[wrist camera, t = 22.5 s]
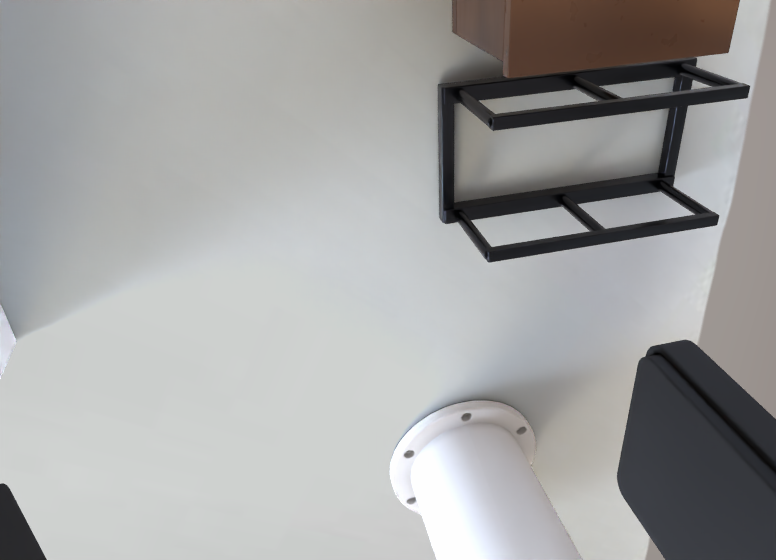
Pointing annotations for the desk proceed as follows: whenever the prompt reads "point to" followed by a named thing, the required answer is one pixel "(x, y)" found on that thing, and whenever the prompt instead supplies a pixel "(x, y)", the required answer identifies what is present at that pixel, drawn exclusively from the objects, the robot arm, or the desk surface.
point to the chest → (481, 24)
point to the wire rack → (604, 106)
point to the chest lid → (611, 33)
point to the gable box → (5, 341)
